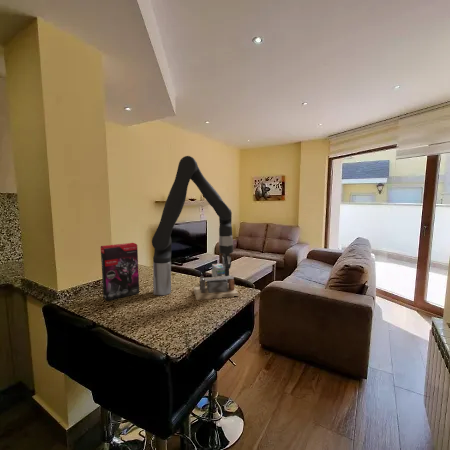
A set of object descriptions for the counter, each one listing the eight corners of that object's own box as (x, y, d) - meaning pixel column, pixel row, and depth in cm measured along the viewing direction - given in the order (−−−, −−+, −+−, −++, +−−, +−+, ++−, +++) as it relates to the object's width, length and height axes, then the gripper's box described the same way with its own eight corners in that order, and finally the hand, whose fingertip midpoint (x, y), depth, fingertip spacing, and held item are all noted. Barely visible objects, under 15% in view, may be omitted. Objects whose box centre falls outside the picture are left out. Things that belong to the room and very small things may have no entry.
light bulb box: (227, 284, 151) (227, 267, 150) (217, 285, 149) (217, 268, 148) (221, 279, 161) (221, 263, 160) (211, 280, 159) (211, 264, 158)
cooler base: (196, 299, 127) (196, 282, 126) (193, 290, 140) (193, 274, 140) (238, 296, 132) (238, 279, 131) (231, 287, 145) (231, 272, 145)
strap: (201, 282, 132) (200, 278, 132) (200, 280, 135) (200, 276, 135) (234, 279, 136) (233, 275, 136) (232, 277, 139) (232, 273, 139)
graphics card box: (105, 302, 123) (104, 247, 120) (101, 298, 128) (99, 245, 125) (139, 294, 134) (138, 243, 132) (134, 290, 139) (133, 242, 137)
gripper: (216, 242, 141) (217, 272, 142) (221, 246, 128) (222, 279, 129) (229, 241, 142) (230, 271, 144) (235, 245, 129) (236, 278, 131)
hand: (226, 275), depth 137 cm, fingers closed
